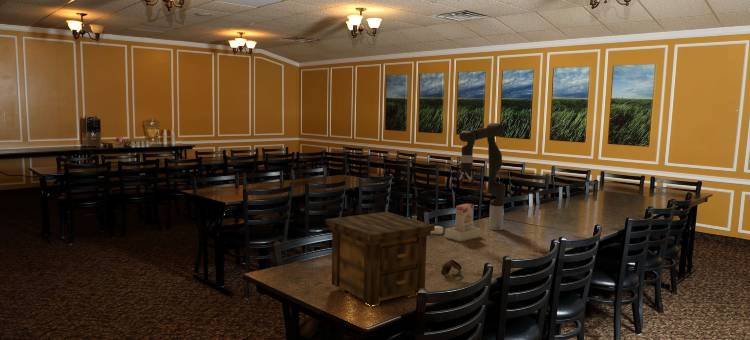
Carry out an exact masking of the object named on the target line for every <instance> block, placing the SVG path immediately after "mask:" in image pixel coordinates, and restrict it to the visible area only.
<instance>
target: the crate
mask: <svg viewBox="0 0 750 340" xmlns="http://www.w3.org/2000/svg"><path fill="white" fill-rule="evenodd" d="M324 223H325V224H324V225H326V226H328V230H329V231H332V233H331V235H332V237H331V238H332V239H331V240H332V242H331V285H332V286H334V287H336V288H338V290H339V289H340V290H342V291H344V292H345V291H348V292H349V293H350V294H352V295H354V296H355V297H357V298H359V299H361V300H362V301H363V302H364V304H365V303H367V304H369V305H370V306H372V305H377V304H380V305H381V302H383V301H386V300H391V299H394V298H395V299H396V298H398V297H399V298H400V297H402V296H405V295H407V296H409V297H410V296H414V295H416V293H417V289H419V288H424V289H425V290H426V270H427V269H426V268H427V267H426V265H427V243H428V242H427V241H428V240H427V237H429V236H431V235H432V233H431V231H434V228H435V226H436V225H435V224H432V223H431V224H430V223H427V222H423V221H420V220H416V219H414V218H410V217H407V216H402V215H400V214H396V213H393V212H388V211H383V212H374V213H373V212H372V213H367V214H365V213H364V214H358V215H349V216H340V217H332V218H325V222H324ZM340 290H339V291H340ZM342 291H341V292H342ZM344 292H343V293H344ZM348 292H347V293H348ZM345 293H346V292H345ZM417 294H418V293H417ZM407 296H406V297H407ZM409 297H408V298H409ZM414 297H415V296H414ZM410 298H411V297H410Z"/></svg>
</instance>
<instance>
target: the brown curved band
mask: <svg viewBox="0 0 750 340" xmlns="http://www.w3.org/2000/svg"><path fill="white" fill-rule="evenodd" d="M452 268H453V269H455V270H456V271H458V273H457V276H460V274H461V273H462V270H461V269H462V268H463V267H462V265H461V264H459V262H457V261H455V260H453V259H449V260H447V261H445V263H443V265H442V268H441V271H440V273H441V274H442V275H444V274H445V275H449V274H450V272H451V270H452Z"/></svg>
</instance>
